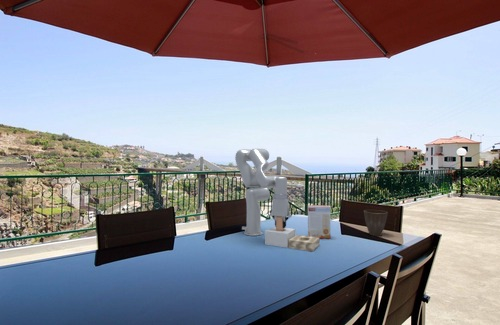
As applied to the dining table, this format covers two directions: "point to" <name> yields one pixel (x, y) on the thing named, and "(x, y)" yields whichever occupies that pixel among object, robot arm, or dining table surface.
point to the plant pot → (375, 221)
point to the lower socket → (304, 242)
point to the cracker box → (319, 221)
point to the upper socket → (279, 237)
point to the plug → (279, 223)
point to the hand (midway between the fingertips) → (280, 226)
